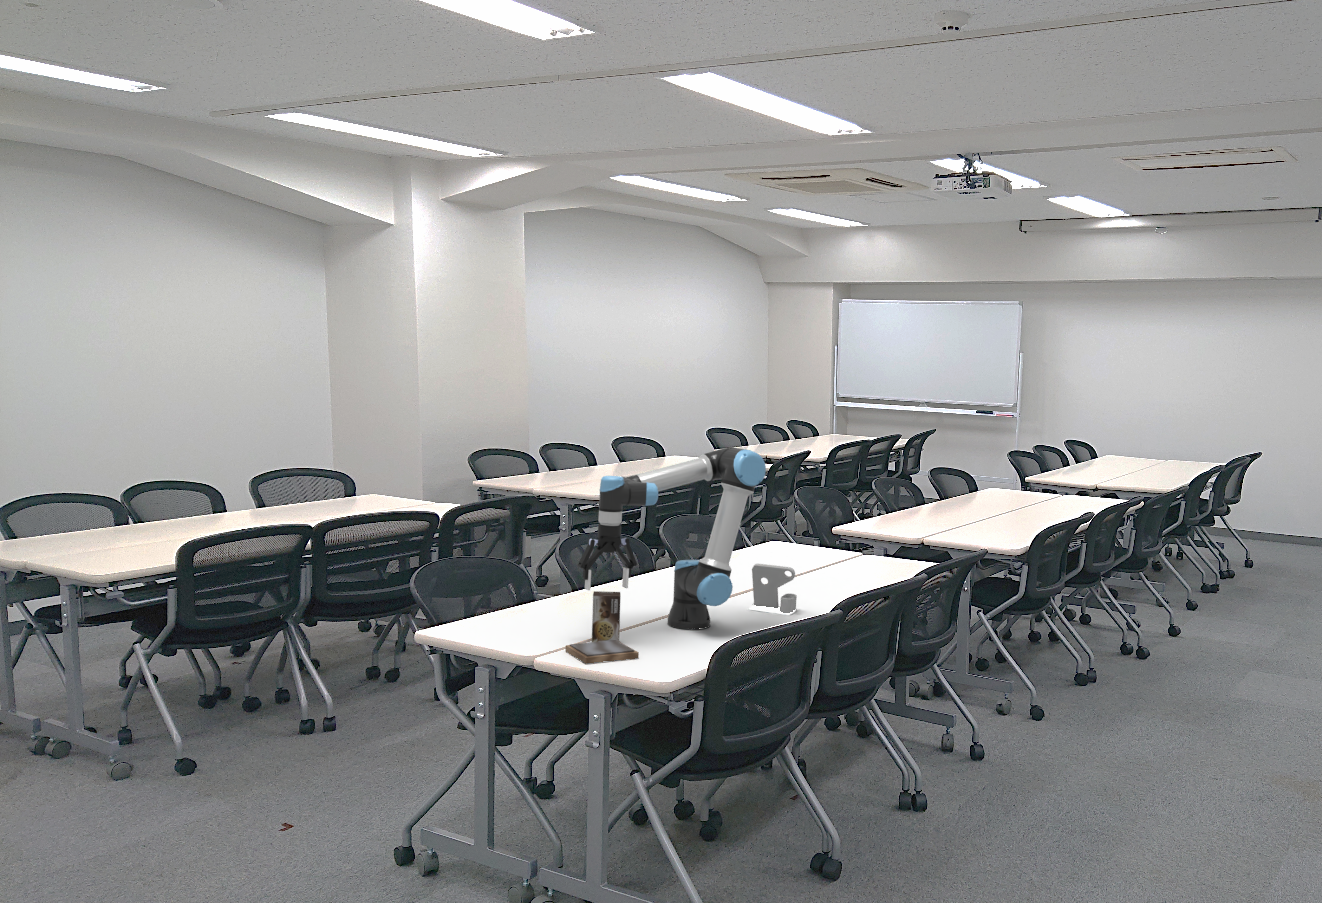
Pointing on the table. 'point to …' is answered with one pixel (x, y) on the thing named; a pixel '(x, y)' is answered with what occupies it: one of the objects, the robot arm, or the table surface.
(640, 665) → the table surface
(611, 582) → the table surface
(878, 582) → the table surface
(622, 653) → the tray
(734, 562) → the table surface
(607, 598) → the coffee box
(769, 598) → the grey bracket with cup
